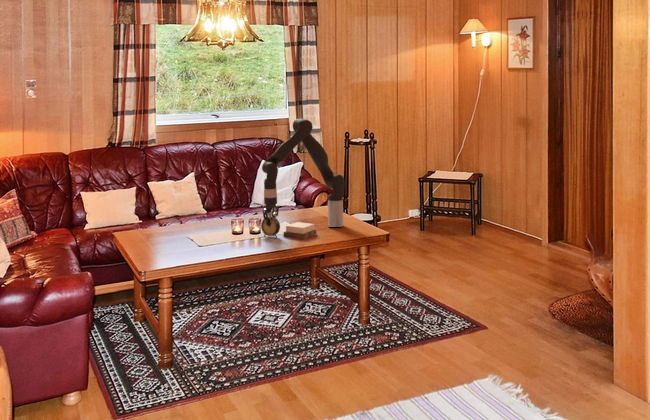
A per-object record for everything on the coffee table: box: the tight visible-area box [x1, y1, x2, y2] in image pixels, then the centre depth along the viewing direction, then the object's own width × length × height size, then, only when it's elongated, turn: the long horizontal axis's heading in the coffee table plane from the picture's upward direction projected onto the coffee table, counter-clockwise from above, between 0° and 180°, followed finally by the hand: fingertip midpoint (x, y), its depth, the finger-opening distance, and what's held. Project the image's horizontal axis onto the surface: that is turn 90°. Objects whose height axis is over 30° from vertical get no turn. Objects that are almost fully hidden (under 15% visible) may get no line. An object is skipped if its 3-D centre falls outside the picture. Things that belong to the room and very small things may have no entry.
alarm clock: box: [260, 211, 281, 238], centre depth 417 cm, size 11×5×16 cm, turn 62°
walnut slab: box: [283, 229, 317, 240], centre depth 421 cm, size 14×14×4 cm
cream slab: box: [285, 221, 315, 234], centre depth 421 cm, size 12×12×4 cm
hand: (271, 224), depth 417 cm, fingers closed on alarm clock, 5 cm apart
